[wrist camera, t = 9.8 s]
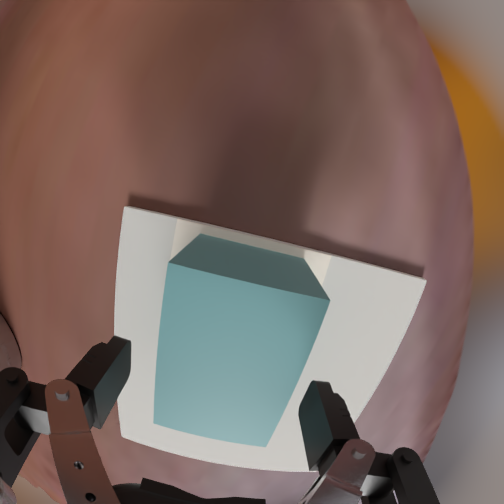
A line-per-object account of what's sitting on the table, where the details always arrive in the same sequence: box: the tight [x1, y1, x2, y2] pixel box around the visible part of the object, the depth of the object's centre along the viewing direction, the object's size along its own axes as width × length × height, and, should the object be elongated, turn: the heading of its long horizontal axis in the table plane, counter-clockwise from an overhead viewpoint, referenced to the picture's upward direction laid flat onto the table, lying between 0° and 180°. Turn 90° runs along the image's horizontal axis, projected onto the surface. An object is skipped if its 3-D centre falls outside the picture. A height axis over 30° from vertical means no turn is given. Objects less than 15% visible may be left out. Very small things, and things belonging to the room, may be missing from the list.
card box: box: [153, 233, 331, 447], centre depth 14 cm, size 9×6×6 cm, turn 166°
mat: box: [114, 206, 427, 472], centre depth 18 cm, size 20×22×1 cm
